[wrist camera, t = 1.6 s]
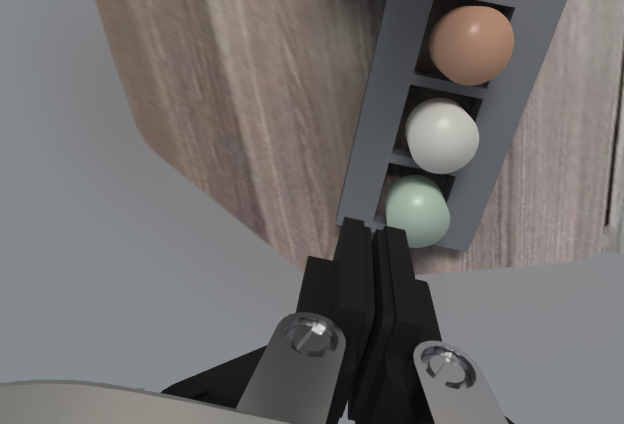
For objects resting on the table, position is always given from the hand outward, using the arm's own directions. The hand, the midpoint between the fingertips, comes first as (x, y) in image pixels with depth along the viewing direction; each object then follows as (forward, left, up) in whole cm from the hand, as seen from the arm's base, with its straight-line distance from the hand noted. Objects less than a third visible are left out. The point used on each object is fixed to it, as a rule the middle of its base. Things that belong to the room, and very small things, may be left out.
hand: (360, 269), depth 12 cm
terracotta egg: (-7, -5, -30) cm, 32 cm away
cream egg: (-7, +2, -30) cm, 31 cm away
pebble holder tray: (-7, +2, -33) cm, 34 cm away
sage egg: (-7, +10, -30) cm, 33 cm away
